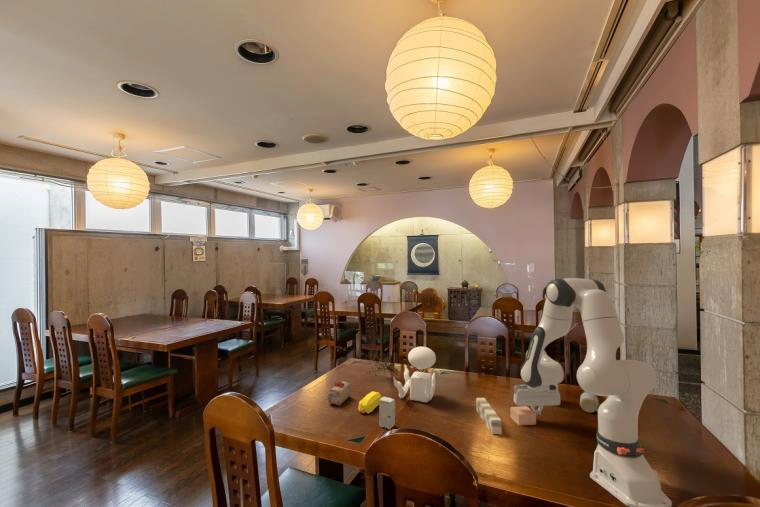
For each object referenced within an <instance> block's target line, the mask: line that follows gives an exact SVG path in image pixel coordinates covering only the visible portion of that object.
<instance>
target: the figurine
mask: <svg viewBox="0 0 760 507" xmlns="http://www.w3.org/2000/svg"><path fill="white" fill-rule="evenodd" d="M407 358H408V359H407V360H408V362H409V363H410V365H411V366H413V367H414V368H417V369H420V370H422V369H423V370H425V369H429V368H431V367H432V366H434V364H435V363H436V360H437V357H436V353H435V352H434V351H433V350H432V349H431V348H429V347H427V346H416V347H413V348H412V349H411V350H410V351H409V352H408V355H407ZM403 378H404V381H405V383H404V385H403V384H402V382H401V381H398V380H397V379H396V378H395V376H394V375H393V386H394V387H395V388H396V389H397V391H398V398H400V399H404V397H406V395H407V393H408V391H409V400H411V401H416V402H420V403H429V402H430V401H431V400H432V399H433V396H434V395H435V389H436V381H437V380H436V372H435V371H434V372H433V373H429V372H422V371H414V372H413V373H412V375H411V376H410V370H409V368H408V367H407V365H406V364H404V371H403Z"/></svg>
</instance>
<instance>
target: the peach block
mask: <svg viewBox="0 0 760 507" xmlns="http://www.w3.org/2000/svg"><path fill="white" fill-rule="evenodd" d="M509 411H510V414H509V416H510V418H511V419H512V420H513V421H514V423H515V424H517V425H518V426H531V425H537V415H536V413H535V412H533V409H532V408H531V407H530V408H529V406H510V409H509Z"/></svg>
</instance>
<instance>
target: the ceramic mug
mask: <svg viewBox="0 0 760 507" xmlns="http://www.w3.org/2000/svg"><path fill="white" fill-rule="evenodd" d="M579 398H580V399H579V406H580V409H582V410H583V411H584V412H586V413H589V414H592V413H595V412H597V413H598V408H599V406H600V405H601V404H599V398H598V396H597V395H592V394H588V393H586V392H585V391H583V392H582V393H581V394H580V397H579Z"/></svg>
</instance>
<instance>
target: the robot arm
mask: <svg viewBox="0 0 760 507" xmlns="http://www.w3.org/2000/svg"><path fill="white" fill-rule="evenodd" d="M606 291H607V290H606V288H605V285H604V284H603V283H602V282H601V281H599V280H597V279H593V278H579V277H578V278H577V277H567V278H555V279H552V280H550V281H549V282H548V283H547V285H546V287H545V296H546V298H545V300H544V301H545V302H544V304H543V305H544V306H543V311H542V316H541V320H540V322H539V324H538V326H537V327H536V328H535V329H534V331H533V333H532V335H531V338H530V341H529V345H528V349H527V350H526V353H525V359H524V362H523V363H522V364H521V368H520V372H519V373H520V377H521V380H522V382H524V383H523V384H521V383H519V384H516V385H514V386H513V403H514V404H515V405H516V407H520V406H527V407H529V406H530V409H531V410H532V411H533V412H535V413H536V416H542V411H543V409H544V406H560V405H561V394H560V391H559V385H558V386H557V385H556V384H560V383H562V382H563V381H564V379H565V369H564V367H563V366H562V364H561V363H560V362H559V361H557V360H554V359H553V358H551V357H550V356H549V355H548V354H547V352H546V350H545V349H546V347H547V346H548V345H549V344H551V343H552V342H553V341H555V340H557V339H560V338H562V337H564V336H565V335H567V334H568V333H569V332H570V329H571V327H572V324H573V323H572V322H573V314H574V313H573V312H574V308H575V307H576V308H577V309H578V310H579V313H580V316H581V317H580V318H581V322H582V325H583V328H584V333H585V339H586V347H587V348H586V355H585V358H584V360H583V362H582V363H581V365H579V367H578V369H577V371H576V380H577V383H578V385H579V387H580V388H581V389H582V390H583V392H586V393H588V394H592V395H595V396H600V397H607V398H606V399H605V400H604V401H603V402H602V403H601V404H600V406H599V407H597V409H598V412H597V430H596V442H597V446H596V449H595V450H594V454H593V464H592V466H593V467H592V471H591V472H590V473H589V478H590V479H592V480H593V481H594V482H596V483H597V484H598V485H600V486H601V487H602V489H605V490H606V491H607V492H608V493H610V494H611V495H612V496H614V497H615V498H617V500H619V501H620V502H621V503H623V505H625V506H626V507H672V506H673V502H672V500H671V499H670V498H669V497H668V496H667V495H666V494H665V493H664V491H663V490H662V486H661V482H660V479H659V474H658V471H657V470H656V469H653V468H652V467H651V465H650V463H649V462H648V460H647V459H646V458H645V456H644V455H643V454H644V453H645V451H644V450H645V448H642V445H641V444H642V443H641V441H640V439H639V437H638V436H639V433H638V430H639V429H638V427H639V426H638V425H639V424H638V423H639V422H638V421H639V414H640V410H641V407H642V405H643V403H644V400H645V398H646V397H647V396H648V394H649V393H650V392H651V391H653V389H655V387H656V386H657V380H658V378H657V374H656V372H655V370H654V369H653V367H652V366H651V365H650V364H649V363H647V362H645V361H642V360H635V359H618V360H617V357H616V356H617V351H618V349H619V347H621V346H622V345H623V343H624V340H625V339H624V338H625V336H624V333H623V330H622V326H621V324H620V320H619V318H618V314H617V310H616V308H615V306H614V304H613V301H612V300H611V298H610V296H609V295H608V293H607V292H606ZM537 406H538V408H537V409H535V408H536V407H537Z"/></svg>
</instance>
